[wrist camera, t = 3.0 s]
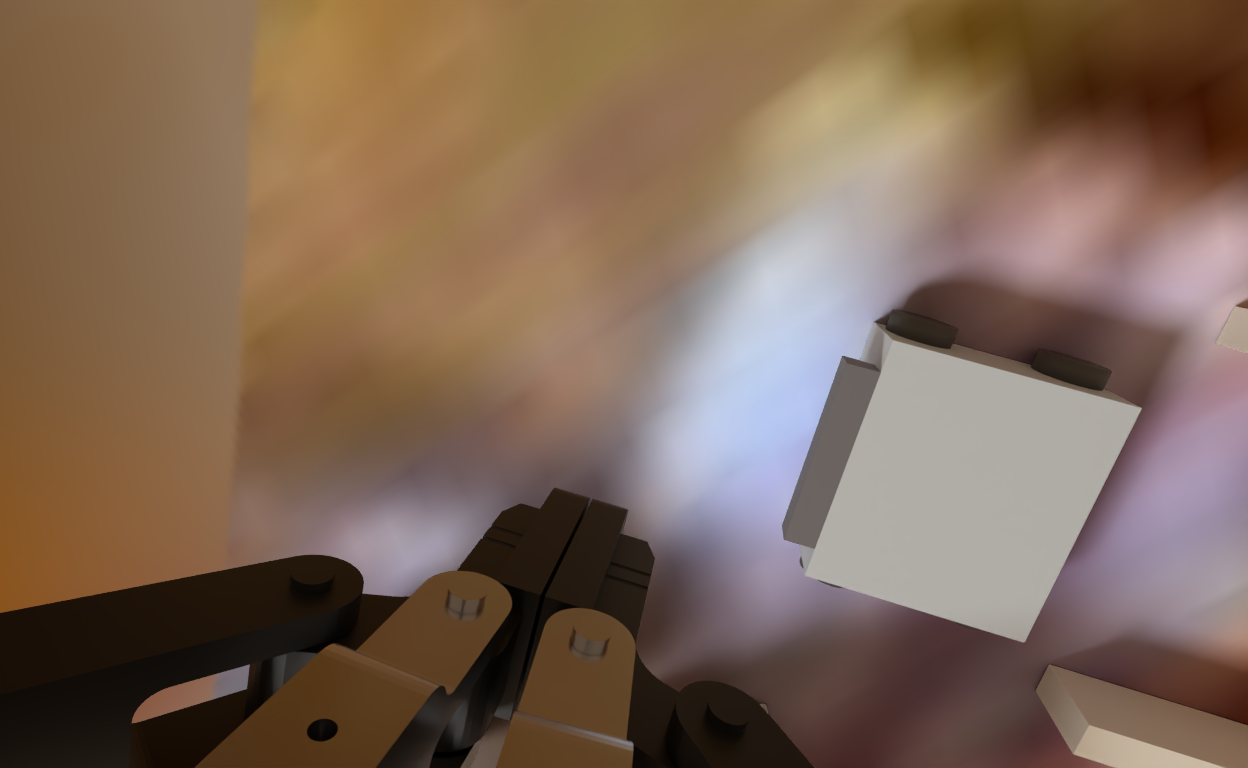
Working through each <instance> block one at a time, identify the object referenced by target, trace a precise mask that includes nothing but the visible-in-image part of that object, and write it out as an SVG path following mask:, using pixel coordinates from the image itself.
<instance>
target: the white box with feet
mask: <svg viewBox="0 0 1248 768" xmlns="http://www.w3.org/2000/svg"><path fill="white" fill-rule="evenodd" d="M957 331H958V329H957V328H955V327H953V326H951V325H948V324H945V323H943V322H940V321H937V320H934V319H931V318H927V317H924V316H920V315H917V314H913V313H909V312H905V311H900V310H892V312H891V314H890V317H889V320H888V322H887V325H882V324H879V323H875V322H874V323H873V326H872V329H871V331H870V334H869V337H868V340H867V342H866V345H865V348H864V351H863V353H862V356H861V359H860V361H859V360H856V359H852V358H849V357H845V356H842V358H841V361H840V364H839V367H838V369H837V372H836V375H835V378H834V381H833V383H832V386H831V389H830V392H829V395H828V398H827V400H826V403H825V406H824V409H823V412H822V414H821V417H820V420H819V423H818V426H817V429H816V431H815V434H814V437H813V440H812V443H811V445H810V448H809V451H808V454H807V457H806V460H805V462H804V465H803V468H802V471H801V474H800V476H799V479H798V482H797V485H796V488H795V491H794V493H793V496H792V499H791V502H790V505H789V507H788V510H787V513H786V516H785V519H784V521H783V524H782V528H783V536H784V540H787V541H790V542H793V543H797V544H799V545H800V551H801V558H800V564H801V566H802V568H803V569H804V574H805V576H807V577H811V578H814V579H817V580H818V581H820V582H823V583H825V584H827V585H830V586H833V587H838V588H847V589H850V590H853V591H856V592H860V593H863V594H866V595H870V596H873V597H876V598H879V599H883V600H886V601H889V602H892V603H896V604H899V605H902V606H906V607H909V608H912V609H915V610H919V611H922V612H925V613H928V614H932V615H935V616H938V617H941V618H945V619H948V620H951V621H953V622H955V623H957V624H959V625H962V626H964V627H967V628H971V629H975V630H984V631H987V632H991V633H994V634H997V635H1000V636H1004V637H1007V638H1010V639H1013V640H1017V641H1020V642H1023V643H1025V641H1026V639H1027V637H1028V635H1029V633H1030V631H1031V629H1032V627H1033V625H1034V623H1035V621H1036V619H1037V617H1038V615H1039V613H1040V611H1041V609H1042V607H1043V605H1044V603H1045V601H1046V599H1047V597H1048V595H1049V593H1050V591H1051V589H1052V587H1053V585H1054V583H1055V581H1056V579H1057V577H1058V575H1059V573H1060V571H1061V569H1062V567H1063V565H1064V563H1065V561H1066V559H1067V557H1068V555H1069V553H1070V551H1071V549H1072V547H1073V545H1074V543H1075V541H1076V539H1077V537H1078V535H1079V533H1080V531H1081V529H1082V527H1083V525H1084V523H1085V521H1086V519H1087V517H1088V515H1089V513H1090V511H1091V509H1092V507H1093V505H1094V503H1095V501H1096V499H1097V497H1098V495H1099V493H1100V491H1101V489H1102V487H1103V485H1104V483H1105V481H1106V479H1107V477H1108V475H1109V473H1110V471H1111V469H1112V467H1113V465H1114V463H1115V461H1116V459H1117V457H1118V455H1119V453H1120V451H1121V449H1122V447H1123V445H1124V443H1125V441H1126V439H1127V437H1128V435H1129V433H1130V431H1131V429H1132V427H1133V425H1134V423H1135V421H1136V419H1137V417H1138V415H1139V413H1140V411H1141V409H1142V408H1141V407H1139V406H1137V405H1135V404H1133V403H1131V402H1129V401H1127V400H1125V399H1124V398H1122V397H1120V396H1118V395H1116V394H1114V393H1112V392H1110V391H1108V390H1106V389H1105V388H1104V387H1105V385H1106V383H1107V381H1108V379H1109V377H1110V375H1111V373H1112V371H1110V370H1109V369H1106V368H1104V367H1102V366H1099V365H1096V364H1094V363H1091V362H1088V361H1085V360H1082V359H1079V358H1075V357H1072V356H1069V355H1065V354H1062V353H1058V352H1054V351H1050V350H1045V349H1039V350H1038V352H1037V355H1036V357H1035V359H1034V361H1033V364H1032V365H1030V364H1026V363H1022V362H1019V361H1015V360H1011V359H1008V358H1004V357H1000V356H997V355H993V354H989V353H986V352H982V351H978V350H974V349H971V348H967V347H963V346H960V345H956V344H953V341H954V339H955V336H956V334H957Z"/></svg>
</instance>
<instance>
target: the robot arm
mask: <svg viewBox="0 0 1248 768" xmlns="http://www.w3.org/2000/svg"><path fill="white" fill-rule="evenodd" d="M589 504H590V505H589ZM627 513H628V509H624V508H621V507H618V506H614V505H611V504H608V503H604V502H601V501H598V500H595V499H592V501H591V503H590V498H588V497H584V496H581V495H578V494H574V493H571V492H568V491H564V490H561V489H558V488H554V489H553V490H552V492H551V493H550V495H549V496H548V498H547V499H546V501H545V502H544V504H543V506H542V507H541V509H538V508H534V507H531V506H528V505H525V504H518V505H516V506H514V507H512V508H509V509H507V510H505V511H502V512H501V514H500V515H499V516H498V517H497V519H496V520H495V521H494V523H493V524H492V526H491V528H489V529H488V531H487V532H486V533H485V534H484V536H483V539H481V540H480V541H479V542H478V544H477V545H476V546H475V548H474V549H473V550H472V552H471V553H470V554H469V555H468V557H467V558H466V559H465V561H464V562H463V563H462V565H461V566H460V567H459V569H458V570H457V571H451V572H445V573H441V574H438V575H435V576H433V577H431V578H429V579H428V580H427V581H426V582H424V583H423V584H422V585H421V586H420V587H419V588H418V589H417V590H416V591H415V592H414V593H413V594H412V595H411V596H410V597H392V596H381V595H371V594H362V592H363V584H364V581H363V576H362V575H361V573H360V571H359V570H358V569H357V568H356V567H354V566H353V565H352V564H350V563H348V562H346V561H344V560H341V559H338V558H335V557H331V556H324V555H302V556H295V557H290V558H285V559H279V560H274V561H269V562H264V563H258V564H253V565H248V566H243V567H238V568H232V569H227V570H222V571H217V572H212V573H206V574H201V575H196V576H191V577H186V578H180V579H175V580H170V581H165V582H160V583H155V584H150V585H144V586H139V587H133V588H128V589H123V590H118V591H113V592H107V593H102V594H97V595H93V596H87V597H81V598H76V599H71V600H66V601H61V602H55V603H50V604H45V605H40V606H35V607H29V608H24V609H19V610H14V611H9V612H3V613H0V768H470V767H471V765H472V763H473V762H474V760H475V758H476V756H477V753H478V749H479V744H480V740H481V738H482V737H483V735H484V734H485V732H486V730H487V728H488V726H489V724H490V722H491V720H492V718H493V716H496V717H499V718H502V719H505V720H508V721H510V719H511V716H512V714H513V712H514V710H515V707H516V705H517V703H518V701H519V703H518V707H517V710H515V712H514V714H513V717H512V720H511V723H510V726H509V729H508V732H507V735H506V738H505V741H504V744H503V748H502V751H501V754H500V757H499V760H498V763H497V766H496V768H814V767H813V766H812V765H811V764H810V763H809V761H808V760H807V759H806V758H805V757H804V755H803V754H802V753H801V752H800V751H799V750H798V748H797V747H796V746H795V745H794V744H793V743H792V741H791V740H790V739H789V738H788V737H787V735H786V734H785V733H784V732H783V731H782V730H781V728H780V727H779V726H778V725H777V724H776V722H775V721H774V720H773V719H772V718H771V717H770V715H769V714H768V713H767V712H766V711H765V710H764V708H763V707H762V706H761V705H760V704H759V703H758V702H757V701H755V700H754V699H753V698H752V697H750V696H749V695H747V694H746V693H744V692H743V691H741V690H739V689H737V688H735V687H732V686H730V685H727V684H723V683H720V682H714V681H700V682H695V683H692V684H689V685H687V686H686V687H684V688H683V689H682V690H681V691H680V693H679V692H678V691H676V690H674V689H672V688H671V687H669V686H667V685H666V684H664V683H663V682H661V681H660V680H659V679H657V678H656V677H655V676H654V675H652V674H651V672H650V671H649V670H648V669H647V668H646V667H645V666H644V664H643V663H642V661H641V660H640V658H639V656H638V653H637V650H636V638H637V633H638V629H639V625H640V620H641V616H642V612H643V607H644V603H645V599H646V594H647V589H648V586H649V581H650V576H651V573H652V568H653V564H654V560H655V558H654V556H653V554H652V551H651V549H650V547H649V545H648V543H647V542H646V541H643V540H639V539H636V538H633V537H630V536H626V535H623V534H622V532H623V528H624V524H625V521H626V517H627ZM249 664H250V667H249V676H248V685H247V689H246V690H243V691H239V692H236V693H233V694H229V695H226V696H223V697H220V698H216V699H213V700H210V701H207V702H203V703H200V704H197V705H194V706H191V707H187V708H184V709H181V710H178V711H174V712H171V713H167V714H164V715H161V716H158V717H154V718H151V719H148V720H145V721H141V722H138V723H132V718H133V715H134V713H135V711H136V710H137V708H138V707H139V706H140V705H141V704H142V703H143V702H144V701H145V700H146V699H147V698H149V697H150V696H151V695H153V694H155V693H157V692H158V691H160V690H163V689H165V688H168V687H171V686H175V685H178V684H182V683H185V682H189V681H192V680H196V679H200V678H203V677H207V676H210V675H214V674H217V673H221V672H224V671H228V670H231V669H235V668H238V667H242V666H245V665H249ZM519 698H520V699H519Z"/></svg>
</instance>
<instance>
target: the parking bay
mask: <svg viewBox="0 0 1248 768" xmlns="http://www.w3.org/2000/svg"><path fill="white" fill-rule="evenodd" d="M1216 344H1219V345H1222V346H1225V347H1228V348H1232V349H1235V350H1238V351H1241V352H1245V353H1248V309H1246V308H1241V307H1237V306H1235V307H1234V309H1233V311H1232V313H1231V315H1230V317H1229V319H1228V321H1227V323H1226V325H1225V327H1224V329H1223V330H1222V332H1221V334H1220V336H1219V338H1218V340H1217V342H1216ZM1035 691H1036V693H1037V695H1038V696H1039V698H1040V700H1041V701H1042V703H1043V705H1044V706H1045V708H1046V710H1047V711H1048V713H1049V715H1050V716H1051V718H1052V720H1053V721H1054V723H1055V725H1056V726H1057V728H1058V730H1059V731H1060V733H1061V735H1062V736H1063V738H1064V740H1065V742H1066V743H1067V745H1068V747H1069V748H1070V750H1071V752H1072V753H1073V754H1074V755H1077V756H1080V757H1083V758H1087V759H1090V760H1093V761H1096V762H1099V763H1102V764H1105V765H1109V766H1112V767H1115V768H1248V725H1245V724H1242V723H1239V722H1235V721H1232V720H1229V719H1226V718H1222V717H1219V716H1216V715H1213V714H1209V713H1206V712H1203V711H1200V710H1196V709H1193V708H1190V707H1187V706H1183V705H1180V704H1177V703H1173V702H1170V701H1167V700H1164V699H1160V698H1157V697H1154V696H1151V695H1147V694H1144V693H1141V692H1138V691H1134V690H1131V689H1128V688H1125V687H1121V686H1118V685H1115V684H1112V683H1108V682H1105V681H1102V680H1099V679H1095V678H1092V677H1089V676H1086V675H1082V674H1079V673H1076V672H1073V671H1069V670H1066V669H1063V668H1060V667H1056V666H1053V665H1050V664H1049V665H1048V667H1047V669H1046V671H1045V673H1044V675H1043V677H1042V679H1041V681H1040V683H1039V685H1038V686H1037V688H1036V690H1035Z"/></svg>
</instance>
